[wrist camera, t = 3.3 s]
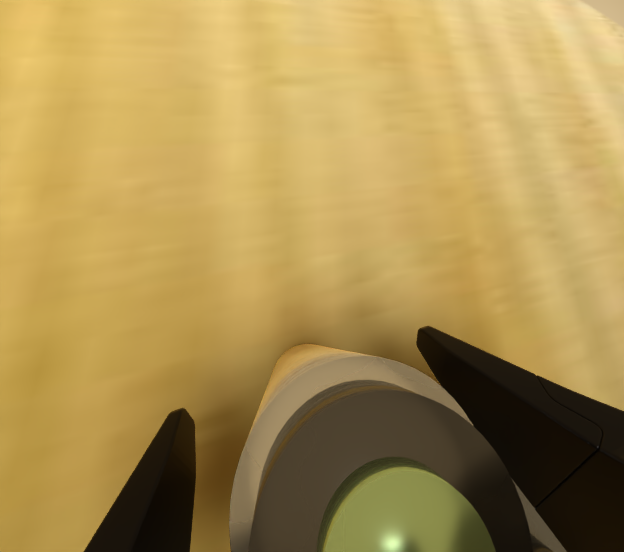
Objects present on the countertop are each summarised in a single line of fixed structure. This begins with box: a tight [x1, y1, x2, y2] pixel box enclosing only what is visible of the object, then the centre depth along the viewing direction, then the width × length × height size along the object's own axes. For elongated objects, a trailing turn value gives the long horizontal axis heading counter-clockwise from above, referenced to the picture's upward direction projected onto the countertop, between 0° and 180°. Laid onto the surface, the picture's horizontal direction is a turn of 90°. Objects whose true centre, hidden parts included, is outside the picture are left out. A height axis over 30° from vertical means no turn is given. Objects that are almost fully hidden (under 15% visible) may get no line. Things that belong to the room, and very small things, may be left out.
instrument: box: [229, 344, 533, 552], centre depth 9 cm, size 4×4×13 cm
